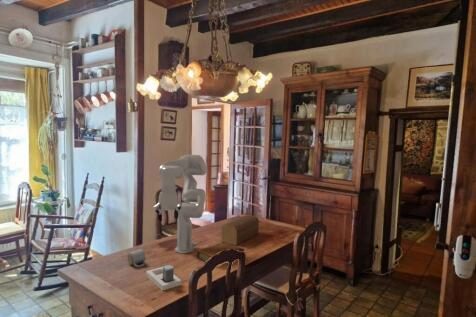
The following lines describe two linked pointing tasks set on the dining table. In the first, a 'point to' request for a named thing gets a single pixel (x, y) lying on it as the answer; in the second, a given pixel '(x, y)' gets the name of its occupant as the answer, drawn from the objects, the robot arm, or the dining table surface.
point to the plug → (168, 273)
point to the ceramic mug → (136, 258)
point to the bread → (239, 230)
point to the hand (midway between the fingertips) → (168, 219)
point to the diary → (215, 250)
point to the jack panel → (159, 279)
